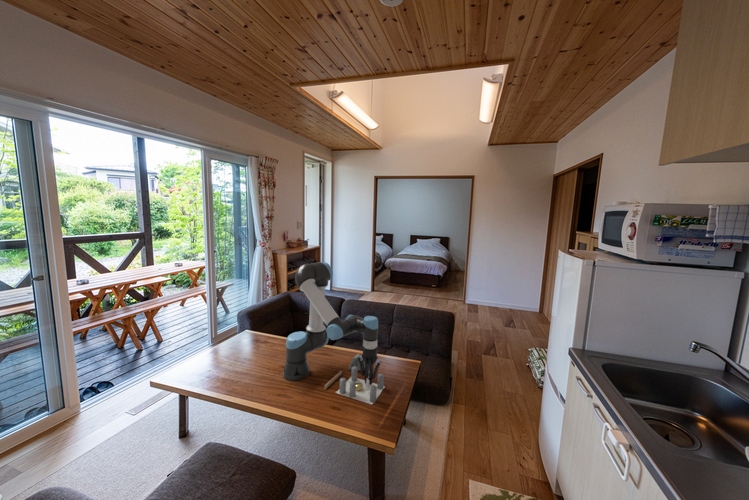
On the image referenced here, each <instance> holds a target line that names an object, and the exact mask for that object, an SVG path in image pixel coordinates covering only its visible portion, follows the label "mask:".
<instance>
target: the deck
mask: <svg viewBox="0 0 749 500" xmlns="http://www.w3.org/2000/svg"><path fill="white" fill-rule="evenodd" d="M342 374H343V370H339V372H338V373H336V374H335V375H334V376H333V377H332V378H331V379H329V381H328V382H327V383H325V384H324V386H323V387H324V388H323V390H327V389H328V388H329V387H330V386H331V385H332V384H333V383H334V382H335V381H336V380H337V379H338V378H339V377H340V376H342ZM384 380H385V375H384V374H383V373H377V383H374V382H373V383H372V384H371V387H370V390H369V391H367V390H366V383H365V379H360V378H358V371H357V367H352V371H351V376H350V377H349V379H346V377H341V378H340V379H339V389H338V390H337V391H335V394H339V395H341V396H344V397H346V398H351V399H354V400H356V401H359V402H362V403H366V404H369V405H373V404H374V403H376V402H377V399H378V397H379V396H380V395H381V393H382V392H383V390H384V389H386V386H384V385H385V384H384V382H385V381H384ZM356 383H362V384H363V389H362V390H361V391H356Z"/></svg>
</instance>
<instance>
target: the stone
mask: <svg viewBox="0 0 749 500" xmlns="http://www.w3.org/2000/svg"><path fill="white" fill-rule="evenodd" d="M359 356H362V354H360V353H357V354H356V355H355V356H353V358H352V359H351V361H350V363H349V367H348V370H349V371H351V372H352V367H357V372H358V371H361V369H360V363H359V361H358V357H359ZM363 361H364V360H363ZM364 366H365V362H364Z"/></svg>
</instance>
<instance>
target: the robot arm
mask: <svg viewBox="0 0 749 500" xmlns="http://www.w3.org/2000/svg"><path fill="white" fill-rule="evenodd" d="M294 276H295V277H294V281H295V285H296V286H297V288H298V290H299V291H300V292H303V293H304V295H305V296H306V298H307V300H308V301H309V318H308V319H309V320H308V325H306V327H305V329H306V330H305V331H295V332H292V333H290V334H288V336H287V337H286V343H285V359H286V360H285V365H284V367H283V371H282V376H283V377H284V378H285V379H286V380H288V381H298V380H299V381H300V380H303V379H305V378H307V377H308V376H309V375H310V370H311V369H310V365H309V362H308V354H309V353H311V352H314V351H315V350H316V351H317V350H319V349H321V348H323V347H325V346H326V345H328V342H329V339H330V340H331V341H335V340H339V339H342V338H344V337H346V336H348V335H350V334H351V335H352V334H353V333H355V332H357V333H359V334H362V354H361V355H362V356H359V357H358V361H359V363H360V369H361V370H360V372H361V376H362V377H364V380H365V383H366V390H367V391H369V390H370V387H371V384H372V383H374V381H373V380H375V379H376V378H377V377H378V372H379V369H380V365H381V364H382V363H383V362H382V361H381V360H379V359H378V338H379V337H378V334H379V318H378V317H377V316H373V315H366V316H364V318H363V317H361V316H358V315H354V314H348V315H347V316H346V317H345V319H344V320H342V319H341V317H340V316H339V315H338V313H337V312H336V311H335V310H334V308H333V307H332V305H331V303H330V302H329V301H328V299H327V298H326V288H327V287H328V286H329V282H330V281H331V280H332V279H333V276H334V273H333V268H332V267H331V265H330V264H329V263H328V262H326V261H318V262H311V263H304V264H302V265H300V266H299V267H298V268H297V269H296V272H295V275H294ZM326 326H327V327H326ZM363 360H364V361H363ZM364 362H365V366H364ZM374 365H375V367H374Z"/></svg>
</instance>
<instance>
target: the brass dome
mask: <svg viewBox="0 0 749 500" xmlns="http://www.w3.org/2000/svg"><path fill="white" fill-rule="evenodd" d="M362 389H363V384H362V383H356V391H361V390H362Z"/></svg>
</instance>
